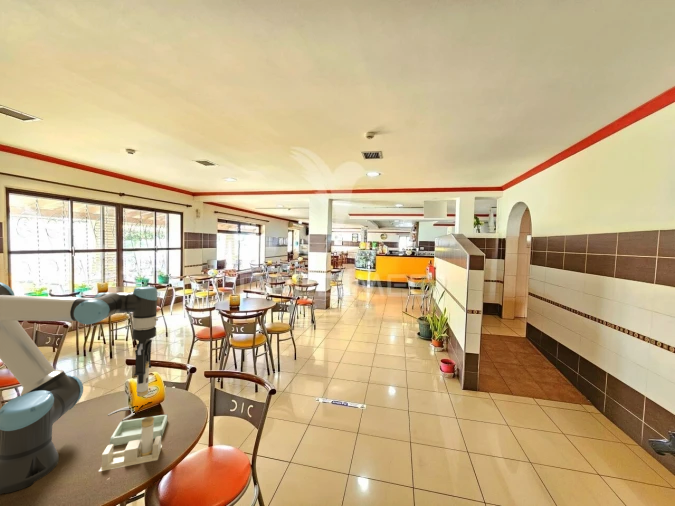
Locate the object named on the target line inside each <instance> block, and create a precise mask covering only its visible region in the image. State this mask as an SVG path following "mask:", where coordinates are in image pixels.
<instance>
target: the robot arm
mask: <svg viewBox="0 0 675 506" xmlns="http://www.w3.org/2000/svg"><path fill="white" fill-rule="evenodd" d="M157 310H158V289H157V288H156V287H155V286H138V287H135V288H133V291H132V292H111V291H107V292H99V293H97V294H95V296H94V297H74V296H72V297H71V296H70V297H69V296H66V297H65V296H39V295H38V296H37V295H15V292H14V290H13V289H12V288H11V287H10V286H9V285H8V284H5V283H4V282H1V281H0V360H1V362H2V363H3V364H4V365H5V366H6V368H7V369H8V371H10V373H11V374H12V375H13V377H14V378H15V379H16V380H17V382H18V383H19V384H20V385H21V387H22V391H21V393H20V395H19V396H16V397H13V398H11V399H10V400H8V401H7V402H5V404H3V406H1V408H0V495H3V494H2V493H5V494H10V493H13V492H17V491H20V490H23V489H25V488H28V487H29V486H32V485H33V484H34V483H35V482H36V481H39V480H40V479H42V478H43V477H46V476H47V475H48V474H50V472H51V471H53V470H54V469H55V468H56V466H57V465H58V464H59V461H60V460H59V458H60V457H59V456H60V455H59V453H58V450H57V448H56V447H55V444H54V443H53V425H54V423H56V422H57V421H58V420H59V419H60V418H61V417H63V416H64V415H65V414H66V413H67V412H68V411H70V410H72V408H74V407H75V406H76V404H77V403H78V402H79V401H80V399H82V397H83V393H84V384H83V382H82V380H80V378H78V377H77V376H75V375H74V376H73V375H69V374H66V372H65V371H64V370H62V369H61V370H60V369H56V368H54V366H53V365H52V364H51V362H50V361H49V360H48V359H47V357H46V356H45V354H44V353H43V352H42V350H41V349H40V348H39V347H38V346H37V344H36V343H35V341H33V339H32V338H31V336H30V335H29V333H27V331H26V330H25V328H24V327H23V326H22V325H21V324H20V322H19V321H24V322H25V321H27V322H28V321H35V322H38V321H39V322H40V321H41V322H43V321H45V322H47V321H48V322H49V321H50V322H51V321H52V322H53V321H54V322H78V323H80V324H83V325H92V324H96V323H99V322H101V321H103V320H105V319H107V318H109V317H112V316H113V315H115V314H123V313H125V314H126V313H128V314H129V313H130V314H131V313H132V332H131V334H132V337H131V338H132V339H133V340H135V341H137V344H136V349H135V350H134V354H135V373H134V376H136V393H137V392H140V391H145V390H146V373H145V369H146V361H148V362H149V369H151V368H152V365H151V363H152V362H151V360H152V343H153V342H152V341H153V339H154V338H155V337H156V336H157V327H156V326H157V321H158V320H159V318H157V315H158V314H157V313H158V311H157ZM149 378H150V377H149ZM149 378H148V382H149V381H150V380H149Z"/></svg>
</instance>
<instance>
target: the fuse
mask: <svg viewBox="0 0 675 506" xmlns="http://www.w3.org/2000/svg"><path fill="white" fill-rule="evenodd" d="M146 417H147V418H146ZM146 417H143V418H144V419H143V420H142V432H141V455H140V457H142V456H147V455H152V453H153V444H154V439H153V425H154V417H152V416H146Z"/></svg>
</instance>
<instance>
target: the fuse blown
mask: <svg viewBox="0 0 675 506" xmlns="http://www.w3.org/2000/svg"><path fill="white" fill-rule="evenodd" d="M149 366H150V365H149V362H148V361H146V369H145V373H146V390H145V391H140V392H137V391H136V395H137V397H145V396H147V395H148V394H149V381H148V378H150V377H149V375H150V373H149V372H150V368H149Z"/></svg>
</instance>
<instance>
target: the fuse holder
mask: <svg viewBox="0 0 675 506" xmlns="http://www.w3.org/2000/svg"><path fill="white" fill-rule="evenodd" d="M114 447H115V446H114V444H111V445H110V444H108V445H107V446H106V448H105V449H104V450H103V452H102V453H101V466H100V469H98V472H105V471H109V470H114V469H119V468H120V469H121V468H124V467H129V466H133V465H139V464H145V463H149V462H154V461H155V462H156V461H158V460H159V457H160V453H161V450H162V447H163V444H162V437H161V436H157V437H156V438H155V439H154V440H153V453H152V455H147V456H142V457H140V455H141V439H140V440H134V441H129V443H127V445H126V446H125V449H124V450H118V451H114Z"/></svg>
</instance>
